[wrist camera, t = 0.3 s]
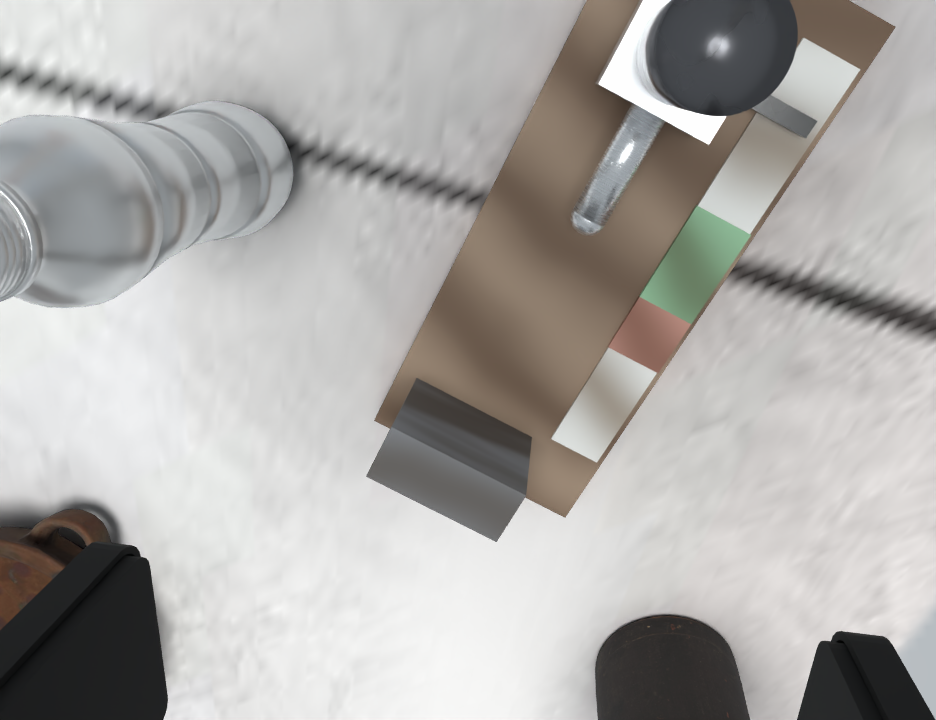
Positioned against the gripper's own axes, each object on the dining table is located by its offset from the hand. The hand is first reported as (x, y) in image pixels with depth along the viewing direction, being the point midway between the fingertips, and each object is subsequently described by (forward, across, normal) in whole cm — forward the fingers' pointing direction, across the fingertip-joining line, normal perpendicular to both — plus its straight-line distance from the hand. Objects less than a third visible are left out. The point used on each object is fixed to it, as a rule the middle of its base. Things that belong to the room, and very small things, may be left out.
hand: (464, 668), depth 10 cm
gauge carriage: (+27, -6, -5) cm, 28 cm away
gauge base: (+29, -3, 0) cm, 29 cm away
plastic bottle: (+29, +16, -3) cm, 33 cm away
